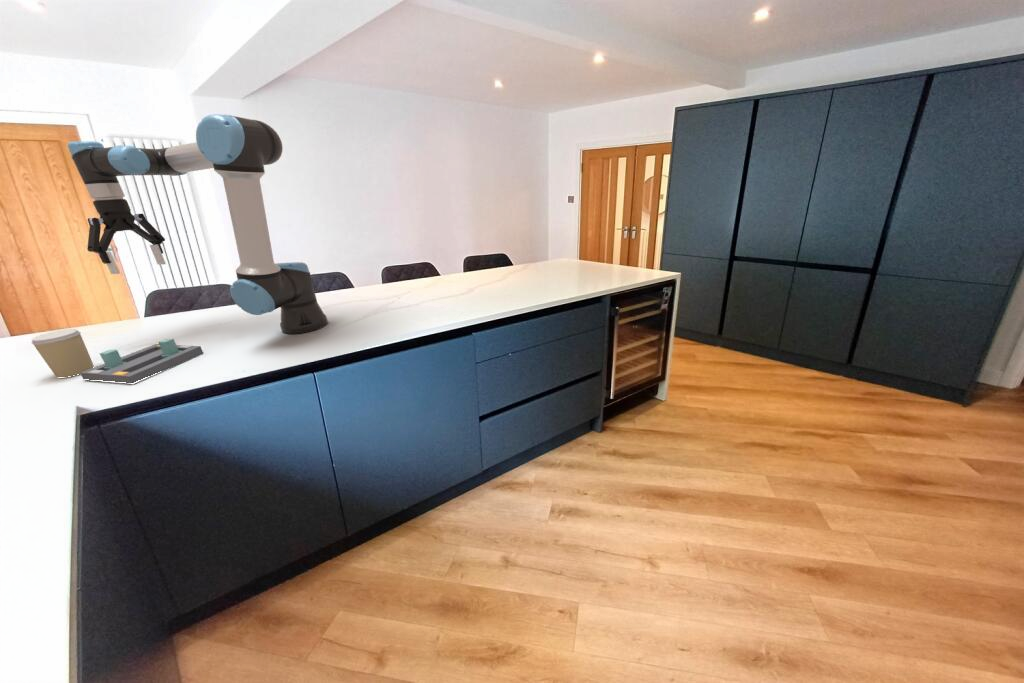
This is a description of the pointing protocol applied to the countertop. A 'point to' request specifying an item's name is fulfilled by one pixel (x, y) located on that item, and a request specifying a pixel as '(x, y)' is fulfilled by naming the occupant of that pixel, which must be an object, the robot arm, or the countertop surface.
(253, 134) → the robot arm
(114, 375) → the switch board
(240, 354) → the countertop surface
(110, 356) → the tab
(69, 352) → the coffee cup
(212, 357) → the countertop surface
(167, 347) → the tab
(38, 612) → the countertop surface
